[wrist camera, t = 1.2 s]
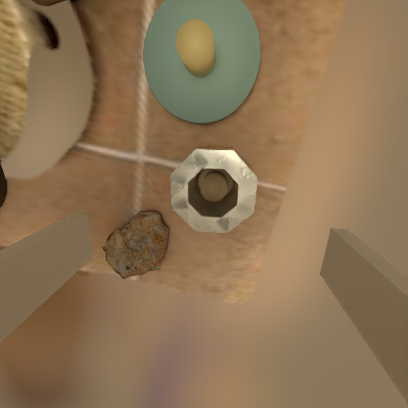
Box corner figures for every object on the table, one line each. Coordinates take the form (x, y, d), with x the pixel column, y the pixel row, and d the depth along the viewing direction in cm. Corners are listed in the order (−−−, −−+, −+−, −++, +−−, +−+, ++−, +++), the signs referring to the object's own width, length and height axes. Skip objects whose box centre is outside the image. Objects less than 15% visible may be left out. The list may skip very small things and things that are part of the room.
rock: (140, 275, 33) (186, 255, 29) (111, 296, 28) (162, 276, 24) (115, 228, 34) (157, 201, 29) (82, 240, 28) (127, 210, 24)
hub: (153, 122, 25) (131, 119, 20) (146, -1, 21) (118, -50, 16) (251, 124, 24) (259, 121, 18) (263, -5, 20) (278, -59, 15)
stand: (198, 196, 28) (194, 206, 24) (199, 163, 26) (194, 168, 22) (231, 198, 27) (231, 208, 24) (233, 165, 26) (234, 170, 22)
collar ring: (182, 210, 29) (171, 229, 23) (181, 145, 26) (169, 148, 20) (246, 214, 28) (251, 235, 22) (253, 147, 25) (261, 151, 19)
